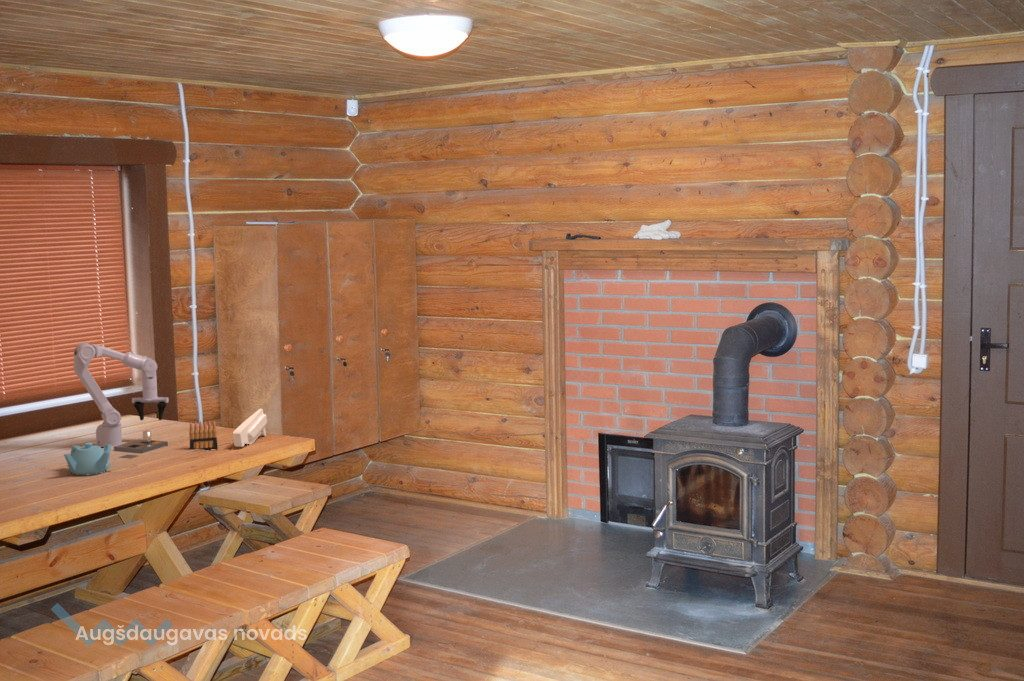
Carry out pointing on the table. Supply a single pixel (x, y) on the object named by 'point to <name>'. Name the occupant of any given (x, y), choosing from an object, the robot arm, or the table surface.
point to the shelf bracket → (250, 429)
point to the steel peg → (147, 437)
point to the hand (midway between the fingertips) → (151, 419)
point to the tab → (129, 456)
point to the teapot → (88, 459)
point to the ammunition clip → (203, 436)
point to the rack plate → (140, 446)
